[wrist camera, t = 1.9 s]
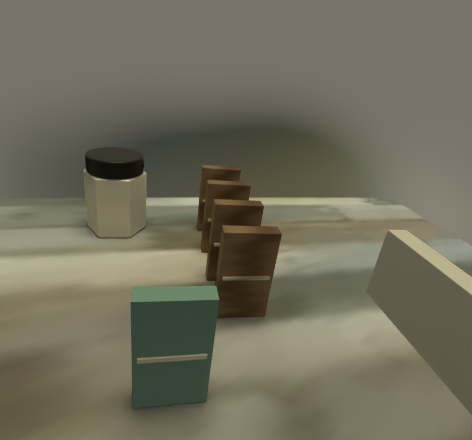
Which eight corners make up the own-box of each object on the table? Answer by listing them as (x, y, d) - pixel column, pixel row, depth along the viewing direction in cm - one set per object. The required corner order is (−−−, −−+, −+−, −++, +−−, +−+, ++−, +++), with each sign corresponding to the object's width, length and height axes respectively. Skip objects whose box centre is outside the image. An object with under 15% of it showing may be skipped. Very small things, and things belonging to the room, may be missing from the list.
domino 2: (201, 252, 49) (208, 184, 45) (200, 246, 51) (206, 179, 46) (240, 253, 51) (250, 186, 46) (238, 246, 52) (247, 181, 48)
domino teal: (132, 410, 26) (130, 303, 22) (134, 389, 28) (133, 285, 23) (206, 403, 28) (219, 301, 23) (203, 383, 29) (216, 284, 25)
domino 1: (197, 230, 55) (203, 168, 51) (196, 225, 57) (202, 164, 52) (232, 231, 57) (240, 170, 52) (230, 226, 58) (238, 167, 54)
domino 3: (207, 281, 43) (215, 204, 38) (205, 272, 45) (213, 198, 40) (251, 280, 45) (264, 206, 40) (248, 272, 46) (260, 200, 41)
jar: (154, 232, 53) (155, 160, 48) (104, 245, 48) (99, 165, 43) (128, 211, 59) (127, 144, 54) (81, 220, 54) (75, 148, 48)
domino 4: (214, 318, 37) (224, 233, 32) (212, 307, 39) (222, 224, 34) (264, 316, 38) (282, 234, 34) (260, 306, 40) (276, 226, 35)
